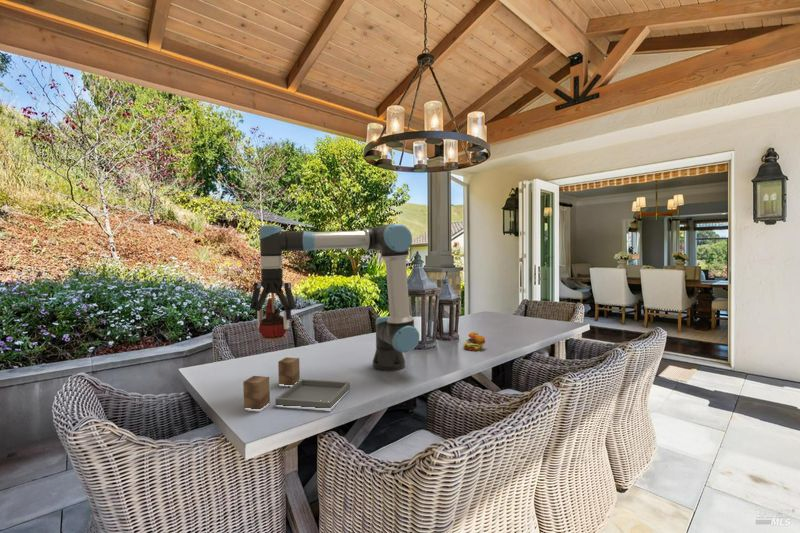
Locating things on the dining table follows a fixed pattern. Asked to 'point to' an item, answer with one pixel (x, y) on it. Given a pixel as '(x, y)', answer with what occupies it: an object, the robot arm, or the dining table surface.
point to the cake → (272, 323)
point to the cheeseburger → (474, 342)
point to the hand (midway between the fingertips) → (273, 328)
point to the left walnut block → (256, 392)
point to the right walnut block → (289, 371)
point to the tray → (313, 393)
